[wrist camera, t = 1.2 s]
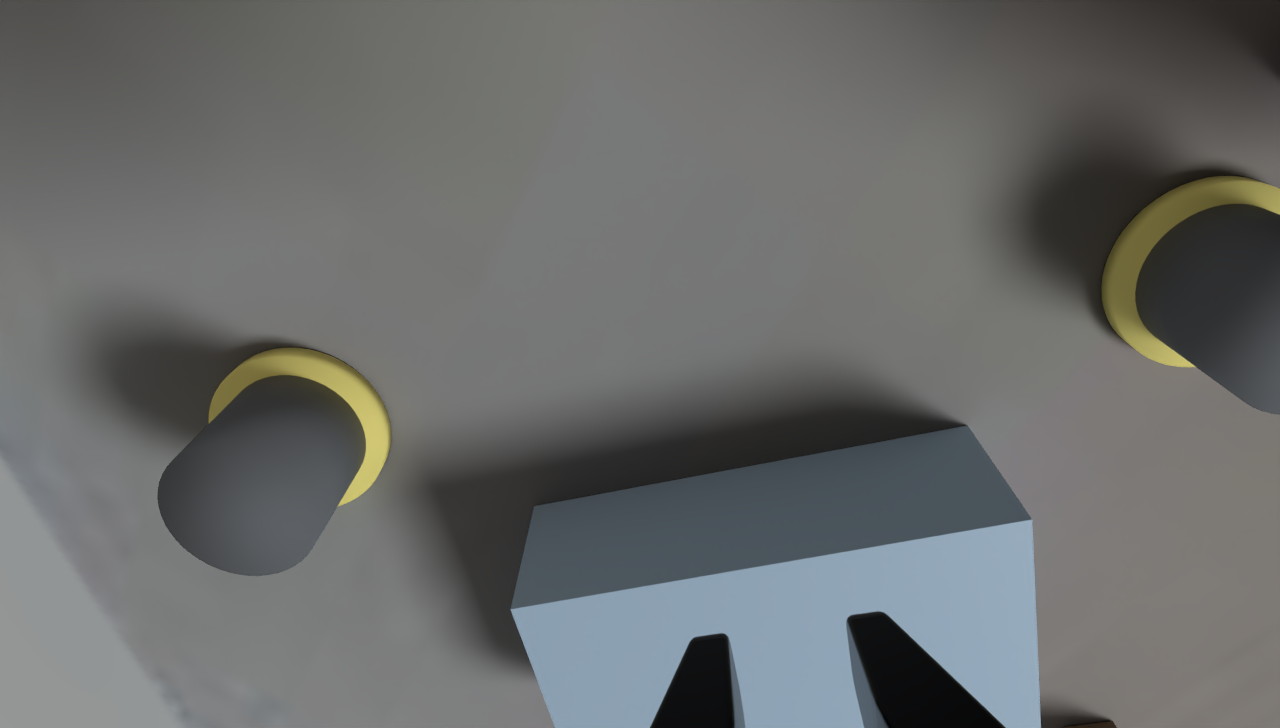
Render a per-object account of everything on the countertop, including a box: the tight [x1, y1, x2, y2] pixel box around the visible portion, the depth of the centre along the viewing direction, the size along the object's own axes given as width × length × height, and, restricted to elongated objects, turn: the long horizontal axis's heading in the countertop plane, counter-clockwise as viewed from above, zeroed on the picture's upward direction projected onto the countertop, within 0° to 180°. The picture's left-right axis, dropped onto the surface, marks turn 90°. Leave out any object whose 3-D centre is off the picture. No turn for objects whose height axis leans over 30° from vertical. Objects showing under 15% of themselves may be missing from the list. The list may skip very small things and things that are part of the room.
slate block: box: [510, 426, 1041, 728], centre depth 23 cm, size 12×7×4 cm, turn 103°
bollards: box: [158, 176, 1280, 576], centre depth 20 cm, size 28×5×4 cm, turn 101°
